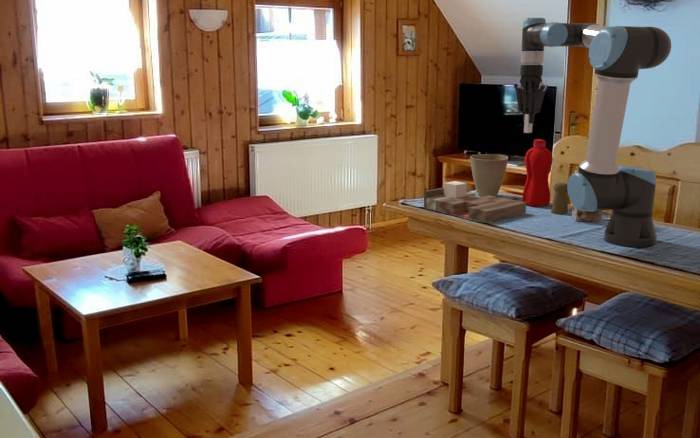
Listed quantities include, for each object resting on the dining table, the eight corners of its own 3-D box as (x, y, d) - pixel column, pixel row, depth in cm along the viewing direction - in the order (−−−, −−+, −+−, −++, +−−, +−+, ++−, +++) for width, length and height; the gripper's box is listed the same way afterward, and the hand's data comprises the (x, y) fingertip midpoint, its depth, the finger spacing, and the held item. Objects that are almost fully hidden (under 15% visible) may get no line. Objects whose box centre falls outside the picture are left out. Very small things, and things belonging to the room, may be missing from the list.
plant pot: (462, 193, 293) (463, 155, 289) (494, 191, 297) (496, 153, 294) (479, 200, 279) (481, 160, 275) (513, 198, 283) (515, 158, 280)
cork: (571, 213, 258) (573, 183, 255) (557, 215, 255) (560, 185, 253) (561, 210, 263) (563, 181, 261) (547, 211, 261) (549, 182, 258)
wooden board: (525, 213, 258) (526, 196, 256) (485, 222, 244) (486, 204, 243) (463, 200, 280) (463, 183, 279) (423, 207, 267) (424, 190, 265)
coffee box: (575, 221, 246) (578, 175, 242) (571, 217, 252) (574, 172, 249) (602, 222, 245) (606, 176, 242) (597, 217, 251) (601, 173, 248)
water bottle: (556, 205, 272) (561, 139, 266) (534, 208, 267) (538, 141, 261) (540, 200, 280) (544, 137, 274) (518, 203, 275) (522, 138, 269)
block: (466, 196, 268) (466, 183, 267) (455, 198, 264) (456, 185, 263) (454, 193, 273) (455, 180, 271) (443, 195, 269) (444, 182, 268)
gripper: (554, 64, 243) (549, 133, 249) (523, 63, 253) (519, 130, 258) (541, 64, 238) (536, 135, 244) (509, 64, 248) (506, 131, 254)
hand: (527, 132), depth 251 cm, fingers closed
